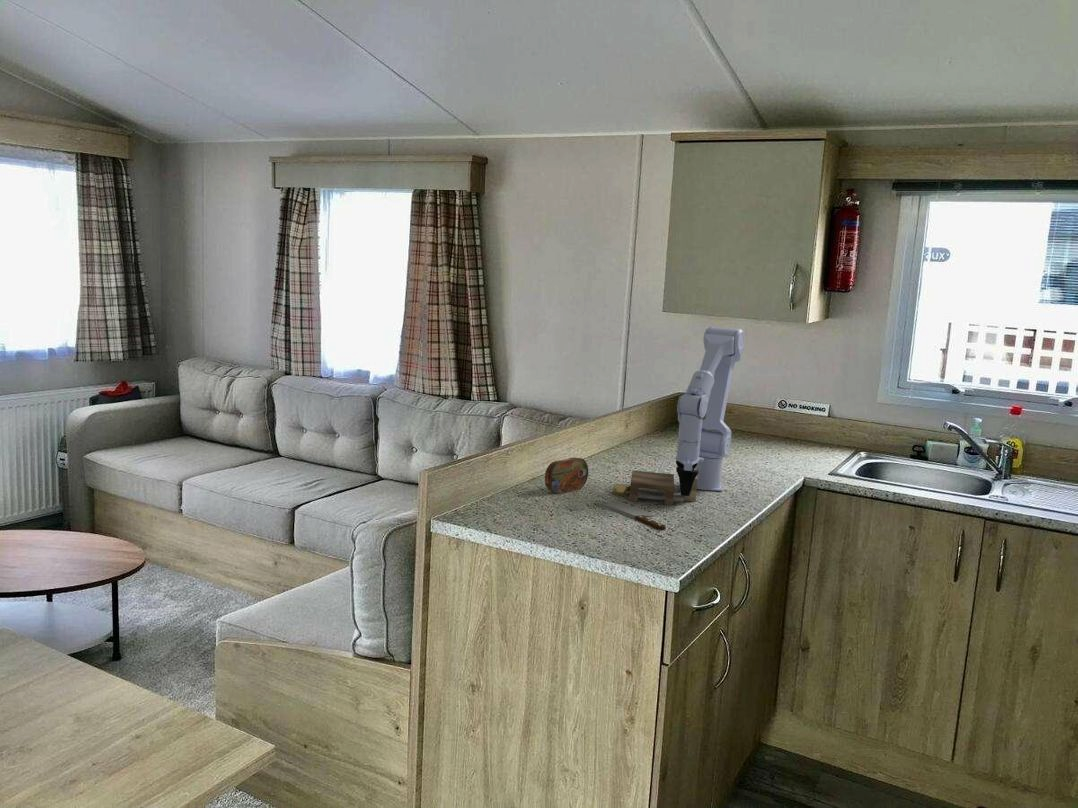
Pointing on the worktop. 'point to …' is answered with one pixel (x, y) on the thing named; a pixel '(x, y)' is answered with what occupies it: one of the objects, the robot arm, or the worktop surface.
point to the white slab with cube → (661, 494)
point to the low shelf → (652, 484)
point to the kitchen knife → (632, 513)
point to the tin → (566, 475)
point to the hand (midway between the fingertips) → (684, 491)
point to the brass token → (621, 489)
